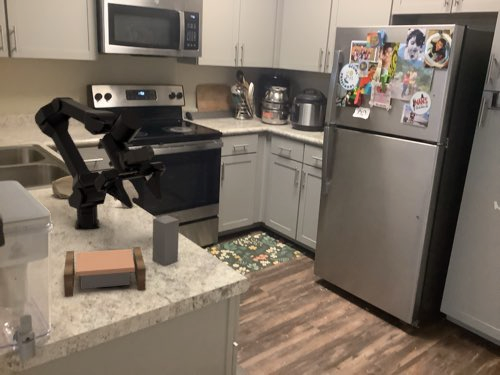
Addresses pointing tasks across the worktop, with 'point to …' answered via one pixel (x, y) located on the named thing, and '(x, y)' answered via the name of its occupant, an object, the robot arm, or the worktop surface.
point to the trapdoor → (104, 268)
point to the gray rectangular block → (165, 240)
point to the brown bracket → (70, 271)
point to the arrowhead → (129, 191)
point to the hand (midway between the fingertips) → (146, 203)
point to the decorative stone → (63, 187)
